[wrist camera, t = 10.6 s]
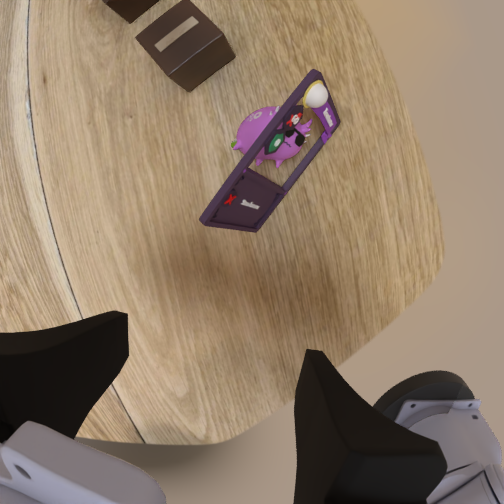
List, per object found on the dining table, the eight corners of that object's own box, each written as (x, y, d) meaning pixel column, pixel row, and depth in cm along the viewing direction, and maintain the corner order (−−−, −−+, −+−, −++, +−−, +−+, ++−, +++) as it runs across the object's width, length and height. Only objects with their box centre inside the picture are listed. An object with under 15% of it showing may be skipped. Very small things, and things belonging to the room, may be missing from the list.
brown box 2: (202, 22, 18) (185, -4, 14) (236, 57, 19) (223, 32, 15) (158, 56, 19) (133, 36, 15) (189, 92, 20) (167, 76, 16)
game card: (213, 235, 15) (333, 77, 12) (148, 174, 16) (249, 37, 14) (265, 239, 21) (350, 129, 19) (210, 193, 22) (287, 90, 20)
